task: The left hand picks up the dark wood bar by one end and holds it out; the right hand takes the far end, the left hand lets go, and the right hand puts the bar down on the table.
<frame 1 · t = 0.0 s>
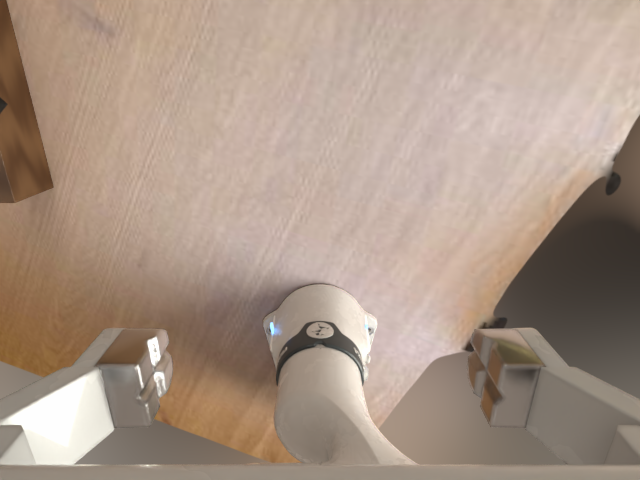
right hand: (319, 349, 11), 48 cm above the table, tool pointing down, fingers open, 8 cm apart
bar: (11, 90, 53), on the table
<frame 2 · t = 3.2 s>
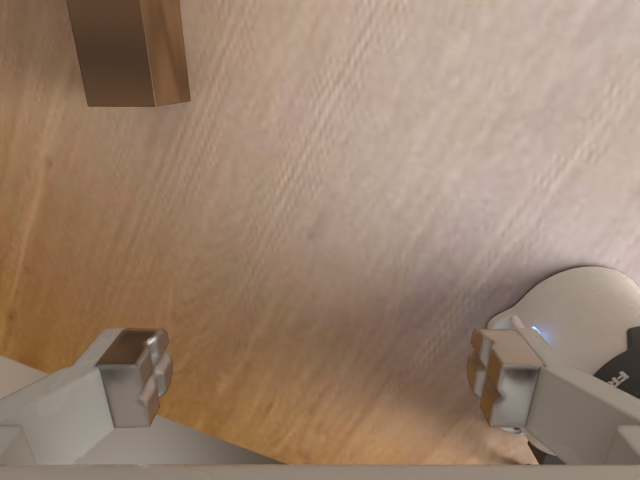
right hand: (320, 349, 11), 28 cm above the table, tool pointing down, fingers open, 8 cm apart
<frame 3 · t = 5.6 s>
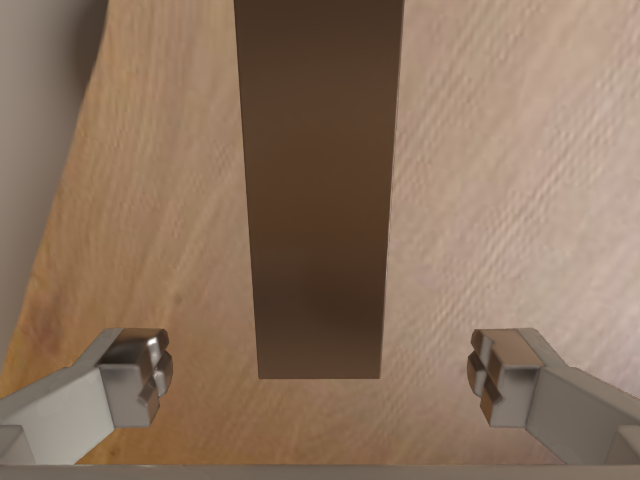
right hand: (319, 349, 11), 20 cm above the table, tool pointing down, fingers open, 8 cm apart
bar: (319, 22, 18), point 8 cm above the table, touching left hand
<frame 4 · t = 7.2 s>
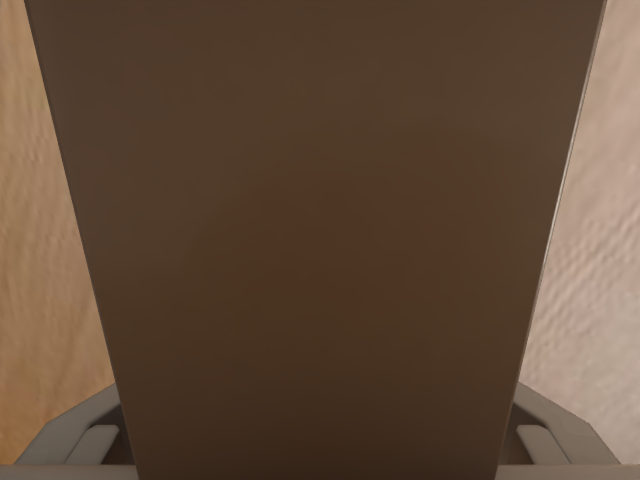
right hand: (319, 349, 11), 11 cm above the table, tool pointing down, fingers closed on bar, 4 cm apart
when the left hand's fingers open (9 cm above the table, at t = 8.1 s): bar stays where it is, held by the right hand.
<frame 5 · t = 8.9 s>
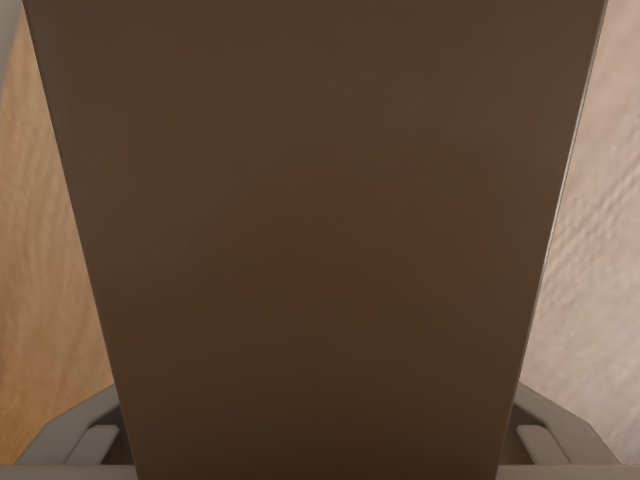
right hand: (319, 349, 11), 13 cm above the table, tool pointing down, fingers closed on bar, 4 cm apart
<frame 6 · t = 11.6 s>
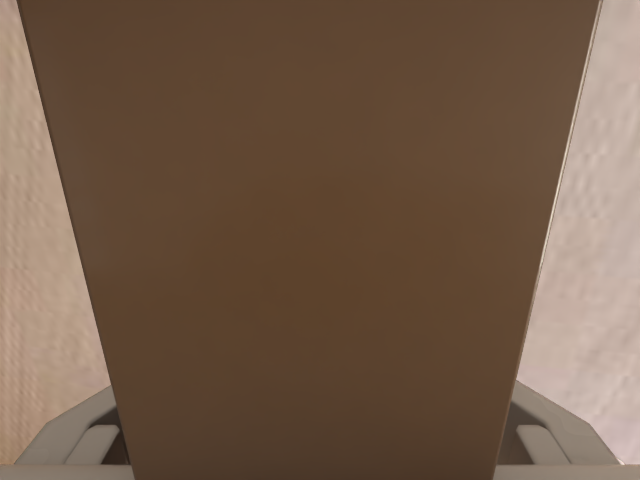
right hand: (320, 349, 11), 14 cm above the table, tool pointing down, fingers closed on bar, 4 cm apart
when the right hand's fingers open (4 cm above the table, at t = 16.2 s): bar stays where it is, resting on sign.
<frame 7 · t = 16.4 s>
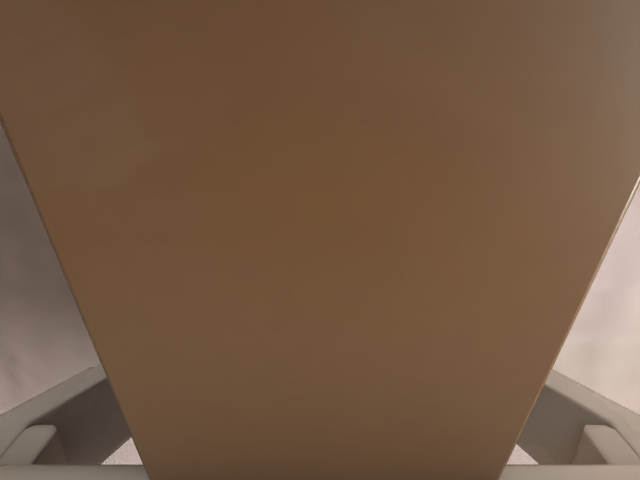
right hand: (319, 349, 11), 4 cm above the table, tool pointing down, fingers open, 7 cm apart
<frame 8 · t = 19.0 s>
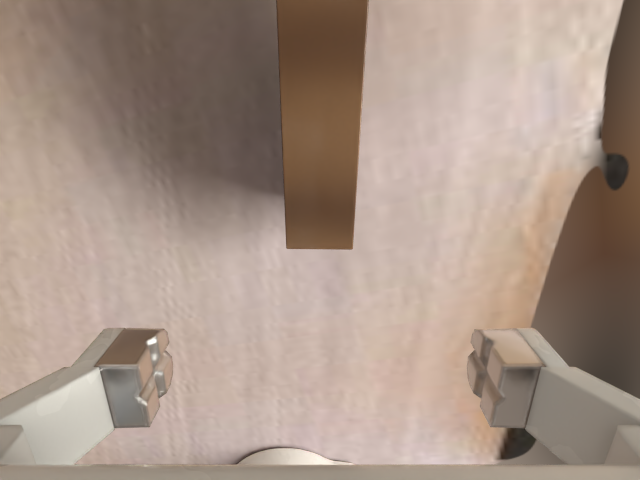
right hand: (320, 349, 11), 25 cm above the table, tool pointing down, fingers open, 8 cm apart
bar: (321, 27, 28), point 2 cm above the table, tilted 11°, touching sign
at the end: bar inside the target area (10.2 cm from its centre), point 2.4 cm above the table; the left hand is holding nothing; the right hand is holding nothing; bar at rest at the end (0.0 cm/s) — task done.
